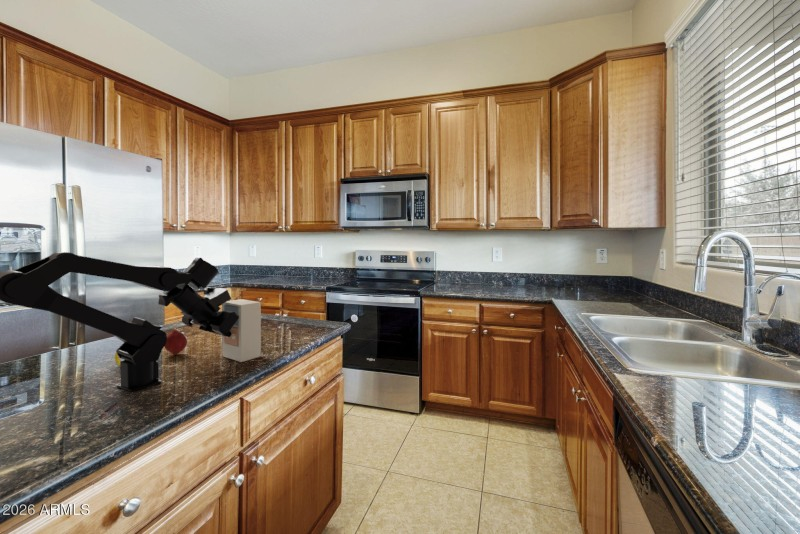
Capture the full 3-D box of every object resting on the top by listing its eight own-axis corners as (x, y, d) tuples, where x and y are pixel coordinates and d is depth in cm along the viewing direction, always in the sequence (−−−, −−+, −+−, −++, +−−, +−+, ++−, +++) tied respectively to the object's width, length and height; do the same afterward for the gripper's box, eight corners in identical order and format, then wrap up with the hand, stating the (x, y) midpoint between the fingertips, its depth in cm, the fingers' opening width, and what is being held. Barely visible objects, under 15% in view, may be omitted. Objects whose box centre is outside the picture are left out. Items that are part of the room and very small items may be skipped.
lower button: (236, 346, 103) (236, 328, 103) (223, 342, 106) (223, 325, 106) (244, 343, 105) (244, 327, 105) (232, 340, 109) (232, 324, 108)
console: (241, 362, 103) (241, 305, 102) (222, 356, 108) (221, 301, 107) (260, 356, 109) (260, 302, 107) (241, 351, 113) (241, 299, 112)
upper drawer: (236, 325, 103) (236, 307, 102) (223, 322, 106) (223, 305, 105) (244, 323, 105) (244, 306, 105) (232, 320, 108) (232, 304, 108)
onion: (191, 352, 111) (191, 326, 110) (178, 358, 105) (177, 331, 104) (173, 351, 111) (173, 325, 111) (159, 357, 105) (159, 330, 105)
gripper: (232, 282, 94) (267, 317, 104) (192, 276, 104) (228, 309, 114) (202, 316, 88) (243, 350, 98) (163, 307, 97) (203, 339, 108)
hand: (229, 335), depth 104 cm, fingers closed, pressing on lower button
